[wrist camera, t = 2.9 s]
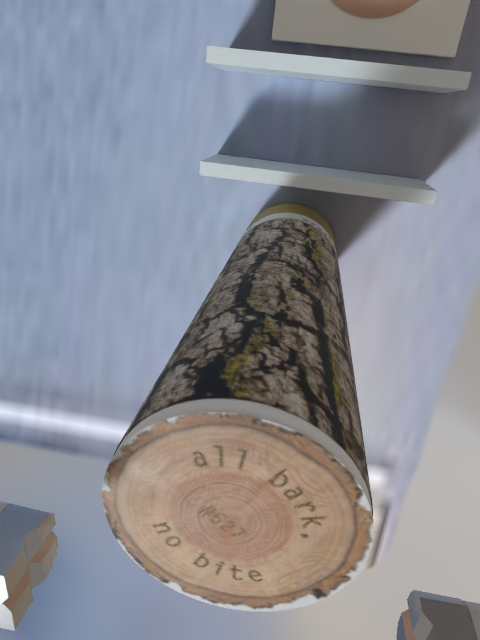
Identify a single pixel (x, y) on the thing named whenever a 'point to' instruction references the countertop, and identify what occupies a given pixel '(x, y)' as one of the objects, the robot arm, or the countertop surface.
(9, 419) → the countertop surface
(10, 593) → the robot arm
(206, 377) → the wooden log
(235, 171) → the low walls
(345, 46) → the resting pad
